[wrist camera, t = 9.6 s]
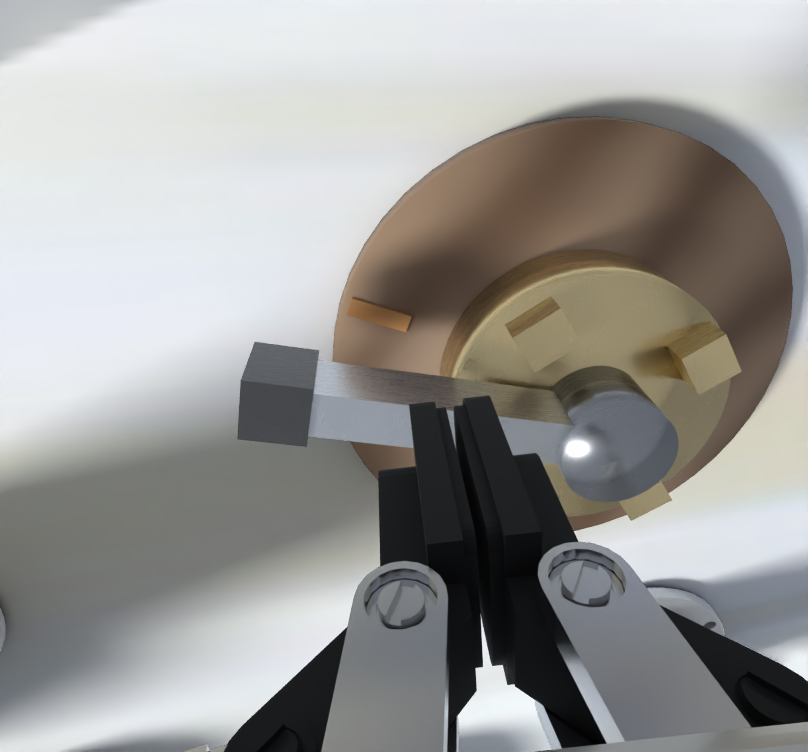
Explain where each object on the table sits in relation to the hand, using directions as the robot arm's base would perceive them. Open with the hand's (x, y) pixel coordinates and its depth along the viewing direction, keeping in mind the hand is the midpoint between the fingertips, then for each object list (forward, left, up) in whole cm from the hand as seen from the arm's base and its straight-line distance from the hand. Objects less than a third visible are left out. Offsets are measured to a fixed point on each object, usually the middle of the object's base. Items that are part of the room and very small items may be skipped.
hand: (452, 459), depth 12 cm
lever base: (-9, +2, -15) cm, 18 cm away
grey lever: (-5, +3, -14) cm, 15 cm away
